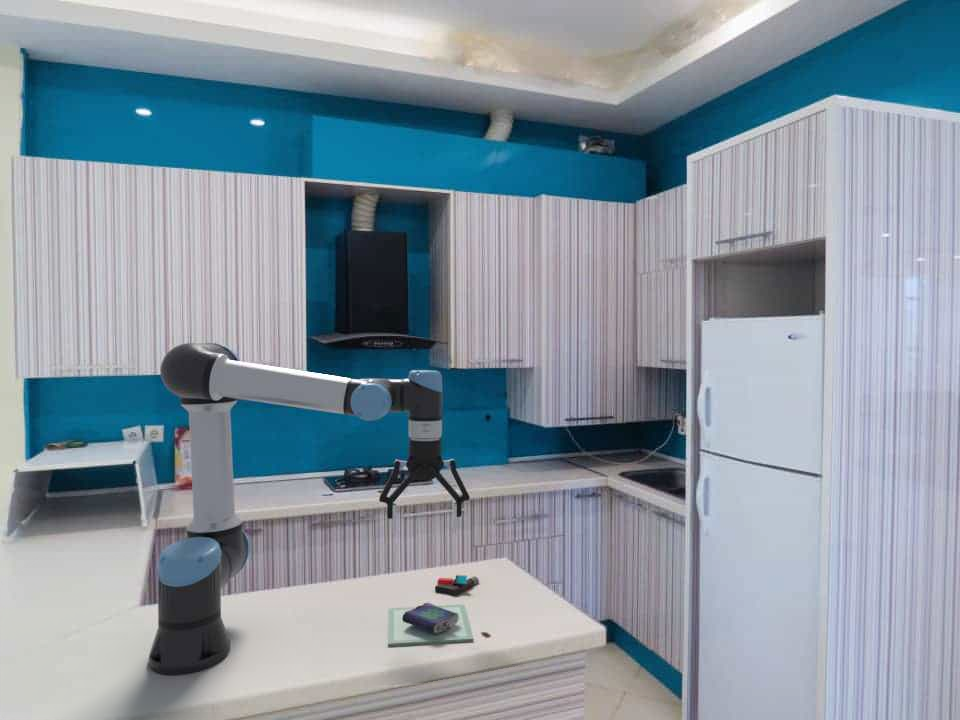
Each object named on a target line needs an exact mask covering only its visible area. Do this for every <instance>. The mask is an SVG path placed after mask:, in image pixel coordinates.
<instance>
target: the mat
mask: <svg viewBox="0 0 960 720" xmlns="http://www.w3.org/2000/svg"><path fill="white" fill-rule="evenodd" d="M437 606H438V607H440V608H443V609H446V610H449V611H451V612H454V613H458V615H459V619H458V622H457V623H456V624H455V625H454V627H453V629H452V630H453V632H450V631H451V629H449V630H446V631H443V632H440V633H435V634H434V633H432V632H430V631H427V630H424V629H422V628H419V627H417V626H414V625H411V624H409V623H405V622H403V620H402V618H403V615H404V613H405V612H406V611H409V610H412V609H415V608H416V607H417V606H408V607H406V606H405V607H390V608H388V626H387V627H388V631H387V632H388V633H387V635H388V636H387V647H390V648H391V647H404V646H419V645H437V644H451V643H452V644H453V643H455V644H456V643H470V642H474V637H473V632H472V628H471V626H470V625H471V624H470V621H469V617H468V613H467V610H466V606H465V604H464V603H463V604H462V603H461V604H448V605H446V604H445V605H437Z"/></svg>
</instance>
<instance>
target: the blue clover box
mask: <svg viewBox="0 0 960 720" xmlns="http://www.w3.org/2000/svg"><path fill="white" fill-rule="evenodd" d="M438 606H439V605H435V604H432V603H430V602H425V603H423V604H422V605H418V606H415V607H416V608H415V609H412V610H409V611H406V612H405V613H404V615H403V618H402V620H403V622H405V623H409V624H411V625H414V626H417V627H419V628H422V629H424V630H427V631H430V632H432V633H434V634H435V633H440V632H443V631H446V630H449V629H451V631H450V632H453V630H452V629H453V627H454V625H455V624H456V623H457V622H458V619H459V615H458V613H454V612H451V611H449V610H446V609H443V608H440V607H438Z"/></svg>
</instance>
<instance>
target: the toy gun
mask: <svg viewBox="0 0 960 720" xmlns="http://www.w3.org/2000/svg"><path fill="white" fill-rule="evenodd" d="M479 583H480V580H479V578H478V576H472V577H469V578H467V575H465V574H464V575H463V574H460V575H458V574H455V579H453V578H451V577H450V578H449V577H439V578H438V579H437V585H435V587H434V592H435V593H439V594H445V595H449V596H453V597H456V596H459V595H461V594H463V593H464V592H466V591H468V590H469V589H471V588H473V587H474V586H477V585H478V584H479Z"/></svg>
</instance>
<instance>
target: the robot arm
mask: <svg viewBox="0 0 960 720" xmlns="http://www.w3.org/2000/svg"><path fill="white" fill-rule="evenodd" d="M163 357H164V358H163V360H162V361H161V364H160V371H159V372H160V378H161V381H162V383H163V385H164V387H165V388H167V390H168V391H169V392H171V393H172V394H174V395H175V396H177V397H179V398H180V405H181V407H182V408H184V410H186V411H187V412H188V425H189V426H188V427H189V444H190V446H189V447H190V463H191V468H190V469H191V483H192V484H191V485H192V486H191V487H192V490H191V491H192V506H193V519H192V520H191V521H190V523H189V524H188V525H187V526H186V538H184V539H181V541H174V542H173V543H171V544H169V545H167V546H166V547H165V548H163V550H162V551H161V552H160V554H159V556H158V560H157V562H158V563H157V568H156V576H157V577H156V578H157V609H158V610H157V616H158V618H157V619H158V623H157V624H158V627H157V630H156V633H155V636H154V640H153V643H152V644H151V645H152V646H151V649H150V650H149V651H150V652H149V655H148V667H149V670H151V671H152V672H153V673H155V674H158V675H160V676H166V677H167V676H168V677H170V676H171V677H172V676H174V677H176V676H185V675H191V674H195V673H199V672H203V671H205V670H207V669H210V668H213V667H215V666H217V665H218V664H219V663H222V661H224V660H225V659H227V657H228V655H230V652H231V641H230V637H229V634H228V631H227V629H226V626H225V624H224V621H223V618H222V608H221V607H222V600H221V599H222V597H221V596H222V593H221V592H222V589H223V588H224V587H225V586H226V585H227V584H228V583H229V582H230V581H231V580H232V579H233V578H234V577H236V576H237V575H238V574H239V573H240V572H241V570H243V568H244V566H245V565H246V562H247V561H248V559H249V556H250V552H251V543H250V538H249V536H248V534H247V532H245V531H244V530H243V527H244V526H243V519H242V518H241V517H240V516H238V515H237V514H236V513H235V511H236V508H235V507H236V506H235V489H234V469H233V468H234V467H233V466H234V465H233V464H234V463H233V445H232V444H233V442H232V441H233V440H232V420H231V419H232V418H231V410H232V408H233V407H234V405H236V403H237V402H238V400H244V401H252V402H259V403H265V404H272V405H278V406H287V407H291V408H292V407H294V408H299V409H300V408H301V409H306V410H314V411H320V412H326V413H333V414H341V415H347V416H353V417H358V418H359V419H361V420H364V421H368V422H369V421H377V420H380V419H382V418H383V417H385V416H386V415H387V414H388V413H408V438H410V439H408V449H407V450H408V455H407V456H408V457H407V460H401V459H398V458H396V459H395V460H394V464H393V469H392V472H391V474H390V475H389V478H388V479H387V482H386V484H385V485H384V487H383V489H382V491H381V493H380V495H379V497H378V498H379V499H378V500H379V502H380V503H384V504H386V507H387V511H386V512H387V513H386V514H387V519H388V520H389V519H392V535H397V532H396V531H397V502H396V501H397V500H398V498H399V497H400V495H401V494H402V493H403V492H404V491H405V490H406V489H407V488H408V486H409V485H410V484H411V483H412V482H413V481H414V480H417V481H424V480H427V481H433V480H434V479H436V480H437V481H438V482H439V483H440V484H441V485H442V487H443V488H444V489H445V490H446V491H447V492H448V494H449V495H450V496H451V498H453V499H454V500H452V502H451V503H452V505H451V507H452V511H451V512H452V514H451V515H452V516H451V520H452V521H451V530H452V533H457V521H458V520H457V518H461V517H462V509H463V508H462V504H463V502H466V501H469V500H470V495H469V493H468V491H467V488H466V486H465V485H464V483H463V481H462V478H461V476H460V474H459V472H458V471H457V465H456V464H457V463H456V460H455V459H454V458H450V459H447V460H445V459H444V460H443V457H442V456H443V452H442V449H443V448H442V447H443V443H442V440H441V437H442V435H443V418H442V417H443V379H442V377H443V376H442V375H443V374H441V372H440V371H439V370H430V369H428V370H427V369H424V370H423V369H421V370H420V369H417V370H414V369H413V370H410V371H409V372H408V373H409V374H408V376H407V378H399V379H398V378H373V377H370V378H369V377H368V378H360V379H357V378H350V377H349V378H348V377H342V376H337V375H330V374H323V373H318V372H310V371H305V370H304V371H303V370H299V369H298V370H297V369H293V368H291V369H290V368H284V367H278V366H271V365H266V364H258V363H251V362H244V361H241V359H240V358H239V356H238V354H237V353H236V352H235V351H234V350H232V349H231V348H230V347H228V346H227V345H223V344H220V343H216V342H215V343H214V342H203V343H196V342H189V343H183V344H179V345H177V346H175V347H173V348H171V350H169V351H168V352H167V353H166V355H164V356H163ZM405 467H406V468H407V469H408V471H409V473H408V474H407V475H406V477H405V478H404V479H403V480H402V481H401V483H399V485H398V486H397V487H396V489H394V491H393V492H392V493H391V494H390V496H388V494H389V492H390V491H391V489H392V487H393V485H394V484H395V481H396V479H397V477H398V475H399V472H400V471H402V470H403V469H404V468H405ZM444 467H446V469H447V470H449V471H450V472H451V475H452V476H453V478H454V481H455V482H456V484H457V486H458V489H459V490H460V492H461V494H460V495H459V493H458V492H457V491H456V490H455V488H453V486H452V485H451V484H450V483H449V482H448V481H447V480H446V478H445V477H444V475H443V474H442V473H441V470H442V469H443V468H444Z"/></svg>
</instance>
